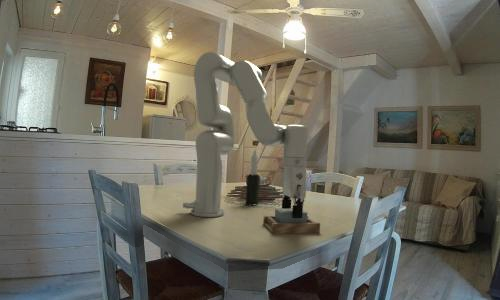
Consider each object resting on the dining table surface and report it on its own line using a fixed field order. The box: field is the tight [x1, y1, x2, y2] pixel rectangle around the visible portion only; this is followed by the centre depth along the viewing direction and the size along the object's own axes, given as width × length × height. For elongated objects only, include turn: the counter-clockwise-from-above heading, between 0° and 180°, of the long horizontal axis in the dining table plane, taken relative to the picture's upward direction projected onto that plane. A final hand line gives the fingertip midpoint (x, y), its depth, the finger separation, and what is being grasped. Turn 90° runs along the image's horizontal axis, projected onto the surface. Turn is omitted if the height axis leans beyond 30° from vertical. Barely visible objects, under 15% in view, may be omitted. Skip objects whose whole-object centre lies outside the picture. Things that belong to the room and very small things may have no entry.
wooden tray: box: [262, 215, 321, 235], centre depth 98 cm, size 16×10×3 cm, turn 104°
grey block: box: [274, 207, 308, 223], centre depth 98 cm, size 9×6×5 cm, turn 103°
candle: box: [245, 148, 261, 205], centre depth 134 cm, size 5×5×25 cm
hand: (291, 214), depth 98 cm, fingers open, 9 cm apart
